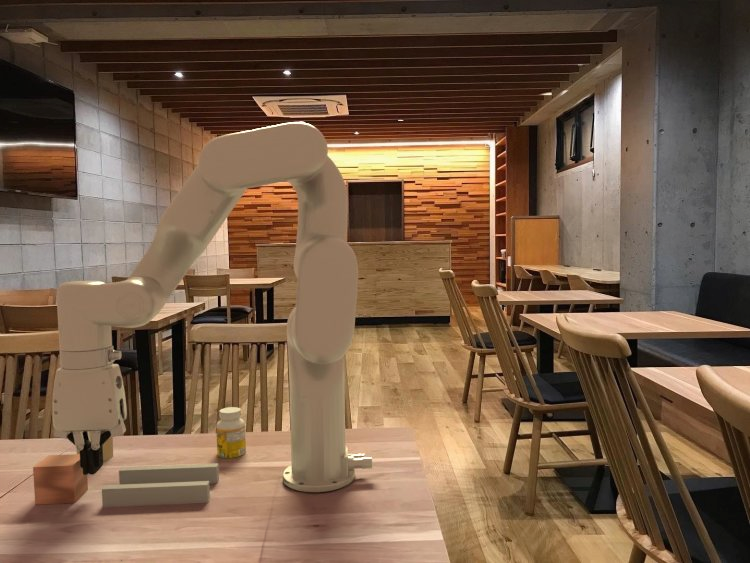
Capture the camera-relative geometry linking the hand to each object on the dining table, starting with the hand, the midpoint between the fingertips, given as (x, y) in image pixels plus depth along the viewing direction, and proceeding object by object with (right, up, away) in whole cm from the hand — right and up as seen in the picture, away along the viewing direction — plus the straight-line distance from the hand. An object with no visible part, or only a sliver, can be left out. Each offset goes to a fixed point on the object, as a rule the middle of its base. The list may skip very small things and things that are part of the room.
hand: (92, 471), depth 95 cm
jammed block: (-5, -4, 0) cm, 6 cm away
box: (-7, -4, +16) cm, 18 cm away
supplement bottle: (+18, -4, +19) cm, 26 cm away
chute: (+7, -5, +1) cm, 9 cm away
